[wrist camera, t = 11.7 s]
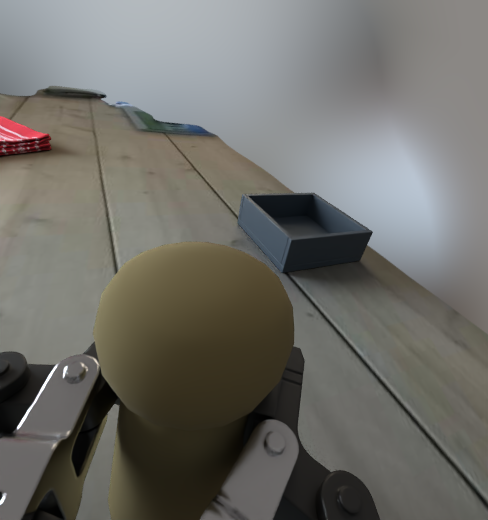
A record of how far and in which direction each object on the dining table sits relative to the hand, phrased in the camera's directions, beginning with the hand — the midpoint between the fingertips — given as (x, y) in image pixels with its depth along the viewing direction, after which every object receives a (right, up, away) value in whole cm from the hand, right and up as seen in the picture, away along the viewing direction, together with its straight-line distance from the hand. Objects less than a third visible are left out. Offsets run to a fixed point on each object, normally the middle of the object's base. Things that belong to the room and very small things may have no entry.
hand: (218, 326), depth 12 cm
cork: (-2, -7, +1) cm, 7 cm away
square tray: (+8, +5, +29) cm, 30 cm away
